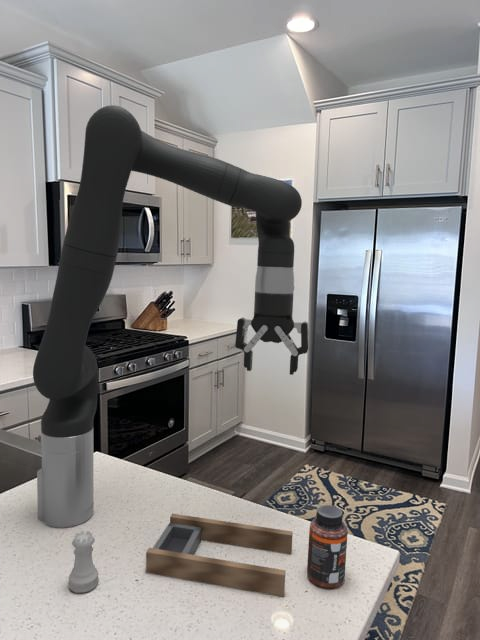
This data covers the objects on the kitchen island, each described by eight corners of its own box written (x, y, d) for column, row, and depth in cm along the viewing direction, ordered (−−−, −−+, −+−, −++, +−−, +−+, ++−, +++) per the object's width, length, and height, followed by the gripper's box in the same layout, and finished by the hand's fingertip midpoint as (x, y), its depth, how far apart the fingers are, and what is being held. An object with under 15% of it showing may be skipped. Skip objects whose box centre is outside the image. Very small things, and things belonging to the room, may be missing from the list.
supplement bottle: (344, 593, 73) (349, 523, 71) (305, 586, 74) (309, 518, 73) (344, 568, 79) (348, 504, 77) (308, 563, 80) (311, 499, 78)
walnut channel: (145, 572, 76) (146, 552, 75) (172, 531, 87) (172, 513, 87) (283, 596, 71) (284, 575, 71) (291, 550, 83) (292, 531, 83)
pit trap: (149, 567, 77) (149, 552, 77) (169, 535, 86) (169, 522, 86) (184, 573, 76) (185, 558, 76) (201, 540, 85) (201, 527, 85)
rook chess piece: (81, 598, 70) (81, 547, 69) (61, 587, 72) (61, 537, 71) (105, 582, 73) (105, 533, 72) (85, 571, 76) (85, 524, 75)
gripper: (234, 289, 90) (231, 373, 92) (309, 293, 88) (305, 379, 90) (242, 287, 98) (239, 365, 100) (312, 291, 95) (307, 371, 97)
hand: (270, 372), depth 95 cm, fingers open, 8 cm apart
